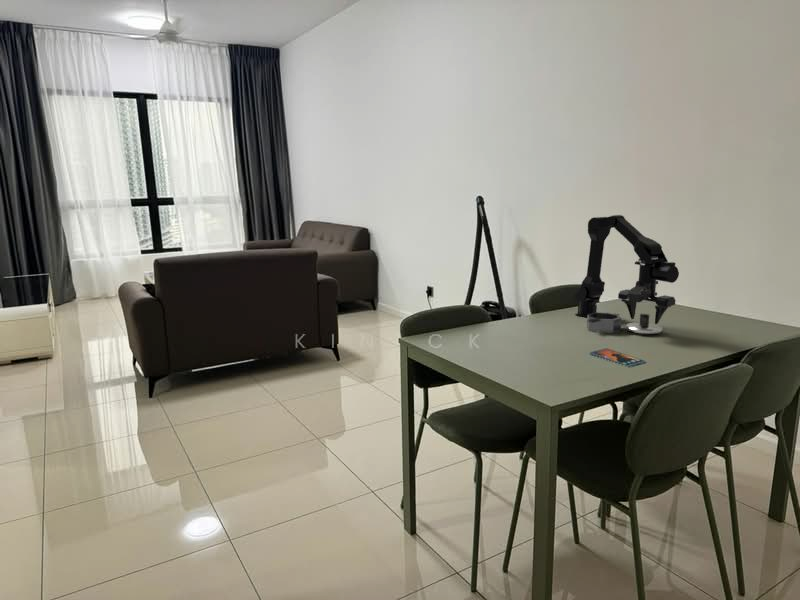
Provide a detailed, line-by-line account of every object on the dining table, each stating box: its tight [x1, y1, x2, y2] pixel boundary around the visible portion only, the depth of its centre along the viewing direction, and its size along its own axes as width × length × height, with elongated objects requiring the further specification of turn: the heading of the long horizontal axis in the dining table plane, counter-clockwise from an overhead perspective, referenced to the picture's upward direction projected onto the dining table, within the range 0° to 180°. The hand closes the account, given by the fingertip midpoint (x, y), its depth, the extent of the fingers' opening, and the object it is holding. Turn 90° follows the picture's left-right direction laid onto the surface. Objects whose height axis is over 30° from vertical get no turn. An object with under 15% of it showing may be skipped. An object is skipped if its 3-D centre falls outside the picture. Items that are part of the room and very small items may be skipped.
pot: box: [586, 312, 622, 334], centre depth 205 cm, size 11×16×5 cm
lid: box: [625, 313, 663, 336], centre depth 201 cm, size 12×12×6 cm
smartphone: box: [589, 347, 647, 368], centre depth 173 cm, size 8×1×15 cm
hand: (644, 321), depth 201 cm, fingers open, 9 cm apart
